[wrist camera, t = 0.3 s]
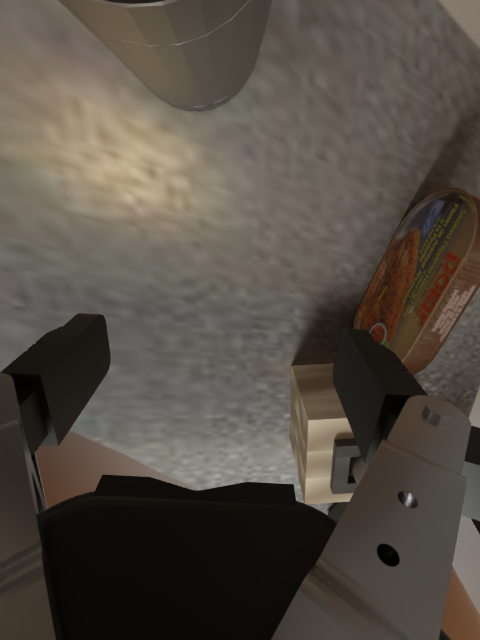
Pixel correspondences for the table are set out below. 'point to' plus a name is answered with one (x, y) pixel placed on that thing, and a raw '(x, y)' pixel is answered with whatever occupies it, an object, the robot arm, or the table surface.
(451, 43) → the table surface
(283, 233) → the table surface
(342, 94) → the table surface
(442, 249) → the tin
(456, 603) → the flanged tan peg
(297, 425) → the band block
